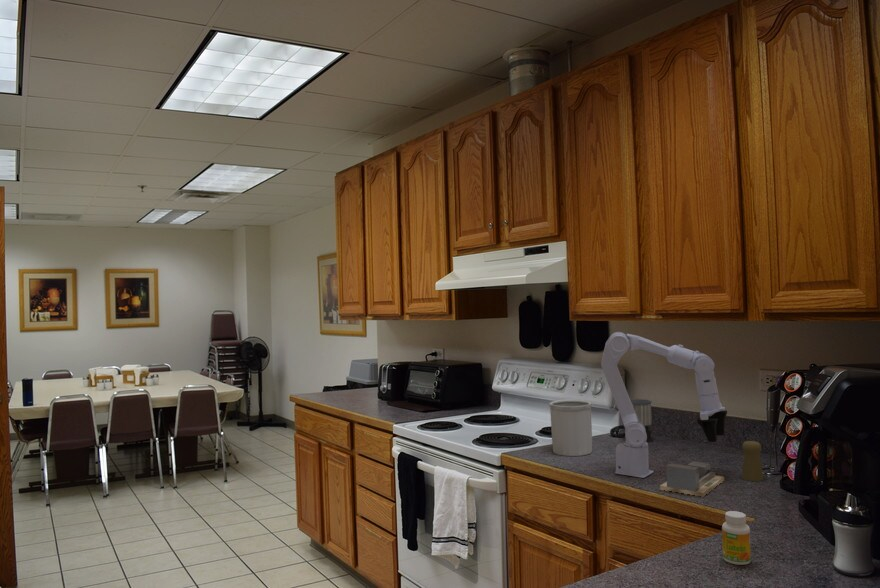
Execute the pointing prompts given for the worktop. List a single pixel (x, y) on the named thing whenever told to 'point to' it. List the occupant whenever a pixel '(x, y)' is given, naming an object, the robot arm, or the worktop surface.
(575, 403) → the utensil holder
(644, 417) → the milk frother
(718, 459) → the worktop surface
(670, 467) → the grey box
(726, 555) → the supplement bottle
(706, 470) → the gauge carriage
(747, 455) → the cork
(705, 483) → the gauge board
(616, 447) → the robot arm
